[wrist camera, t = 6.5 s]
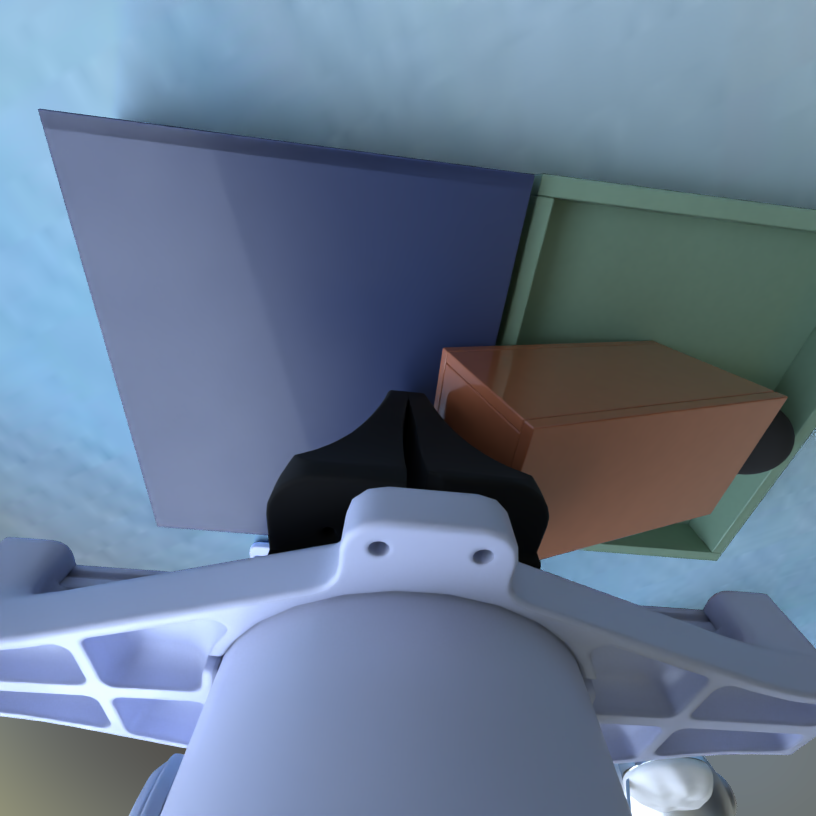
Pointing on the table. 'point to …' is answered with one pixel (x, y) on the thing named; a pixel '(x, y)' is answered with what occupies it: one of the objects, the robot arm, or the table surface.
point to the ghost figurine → (714, 812)
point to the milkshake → (668, 783)
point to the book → (272, 293)
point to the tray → (675, 306)
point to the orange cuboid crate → (606, 430)
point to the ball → (771, 447)
